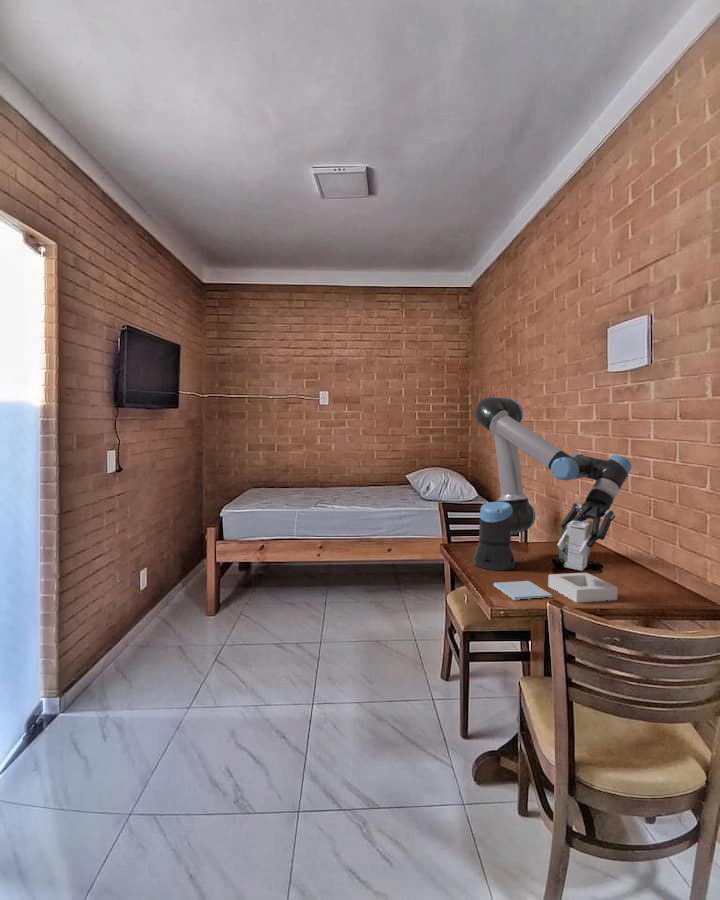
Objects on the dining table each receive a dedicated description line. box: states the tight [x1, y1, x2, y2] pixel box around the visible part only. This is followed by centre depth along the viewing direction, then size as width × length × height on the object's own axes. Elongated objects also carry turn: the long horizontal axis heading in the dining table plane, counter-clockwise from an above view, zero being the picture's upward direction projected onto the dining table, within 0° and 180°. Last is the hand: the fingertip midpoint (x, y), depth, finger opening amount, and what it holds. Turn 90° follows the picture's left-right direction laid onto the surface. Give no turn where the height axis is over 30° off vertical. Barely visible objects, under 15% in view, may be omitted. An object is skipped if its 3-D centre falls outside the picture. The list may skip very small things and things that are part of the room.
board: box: [493, 580, 553, 601], centre depth 156 cm, size 13×13×1 cm
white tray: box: [547, 572, 619, 604], centre depth 157 cm, size 14×14×4 cm
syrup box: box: [563, 521, 590, 572], centre depth 155 cm, size 6×6×14 cm
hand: (570, 550), depth 153 cm, fingers closed on syrup box, 7 cm apart
